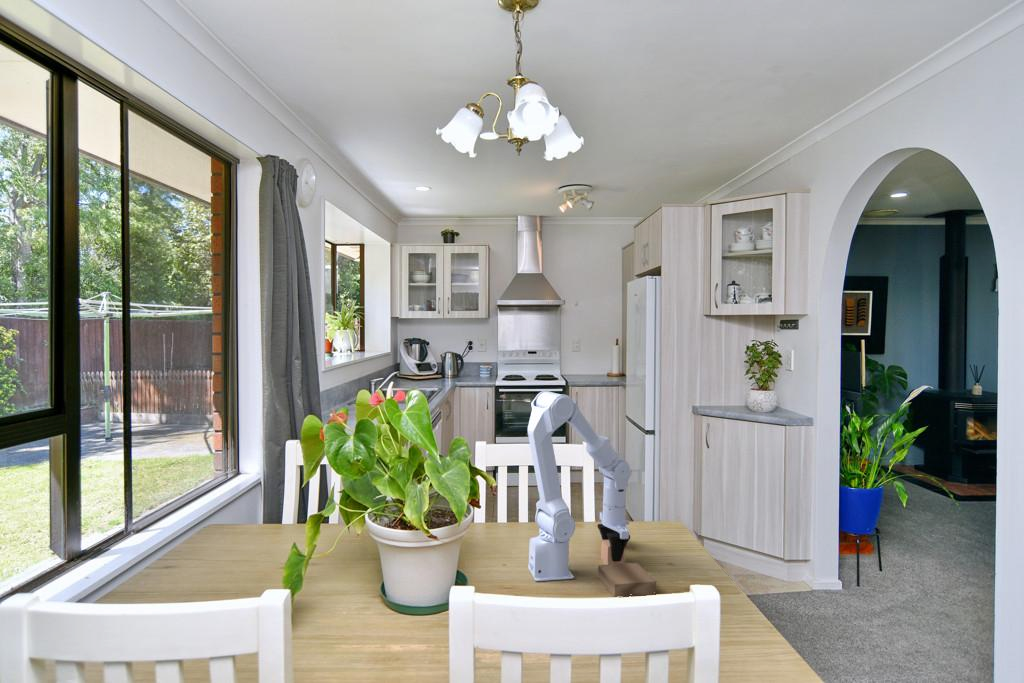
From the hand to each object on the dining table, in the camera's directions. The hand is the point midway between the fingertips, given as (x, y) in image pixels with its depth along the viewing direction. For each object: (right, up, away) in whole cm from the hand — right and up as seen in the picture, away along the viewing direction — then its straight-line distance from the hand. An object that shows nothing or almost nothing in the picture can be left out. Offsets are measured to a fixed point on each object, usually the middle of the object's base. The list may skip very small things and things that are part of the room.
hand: (612, 556), depth 140 cm
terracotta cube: (0, -1, 0) cm, 1 cm away
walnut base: (+1, -2, -13) cm, 13 cm away
